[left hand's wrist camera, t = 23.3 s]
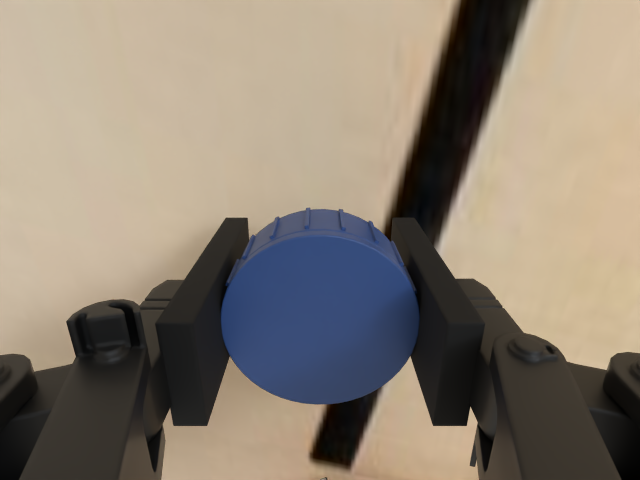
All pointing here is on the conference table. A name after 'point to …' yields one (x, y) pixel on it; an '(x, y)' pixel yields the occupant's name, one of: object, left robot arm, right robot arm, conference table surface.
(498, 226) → the conference table surface
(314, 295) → the lid
